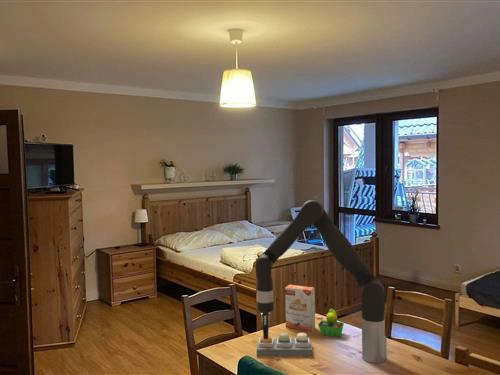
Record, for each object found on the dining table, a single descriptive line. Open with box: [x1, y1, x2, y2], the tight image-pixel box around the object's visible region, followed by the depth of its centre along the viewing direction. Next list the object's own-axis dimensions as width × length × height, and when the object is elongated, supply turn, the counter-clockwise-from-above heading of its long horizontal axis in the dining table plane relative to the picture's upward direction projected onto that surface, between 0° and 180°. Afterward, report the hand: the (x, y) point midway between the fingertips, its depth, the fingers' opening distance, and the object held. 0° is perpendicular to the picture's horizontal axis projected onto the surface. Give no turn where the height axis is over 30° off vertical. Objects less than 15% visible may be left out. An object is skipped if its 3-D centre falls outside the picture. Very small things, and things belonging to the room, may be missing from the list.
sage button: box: [278, 332, 290, 341], centre depth 197 cm, size 4×4×2 cm
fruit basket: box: [318, 308, 345, 338], centre depth 215 cm, size 11×9×11 cm
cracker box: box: [284, 284, 316, 332], centre depth 223 cm, size 14×6×21 cm, turn 62°
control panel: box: [256, 337, 313, 357], centre depth 197 cm, size 24×12×4 cm, turn 87°
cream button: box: [296, 332, 308, 341], centre depth 196 cm, size 4×4×2 cm
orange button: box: [260, 335, 272, 343], centre depth 197 cm, size 4×4×2 cm
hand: (265, 337), depth 197 cm, fingers closed
